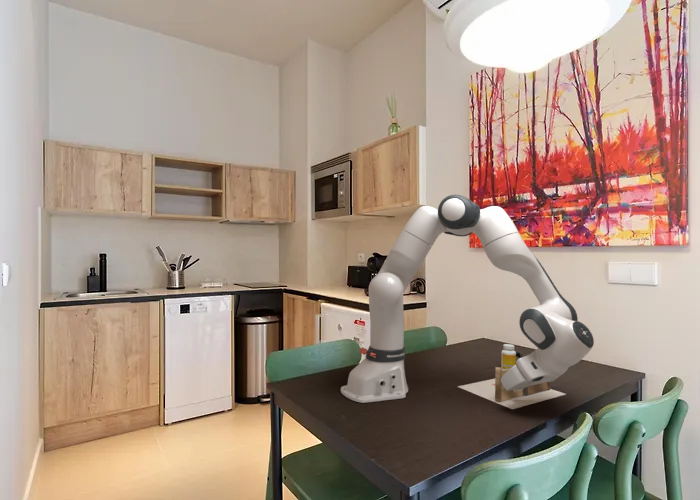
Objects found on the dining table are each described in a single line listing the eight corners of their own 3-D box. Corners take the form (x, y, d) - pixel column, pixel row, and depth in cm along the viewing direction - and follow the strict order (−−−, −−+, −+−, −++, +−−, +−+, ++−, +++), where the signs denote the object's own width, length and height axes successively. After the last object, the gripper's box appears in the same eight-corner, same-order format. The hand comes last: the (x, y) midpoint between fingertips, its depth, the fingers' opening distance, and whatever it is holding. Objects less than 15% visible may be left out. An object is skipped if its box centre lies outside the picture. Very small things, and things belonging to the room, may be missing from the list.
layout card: (512, 410, 117) (512, 409, 117) (457, 387, 136) (457, 386, 136) (566, 395, 130) (566, 394, 130) (509, 376, 149) (509, 375, 149)
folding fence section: (498, 402, 122) (498, 368, 122) (493, 400, 123) (494, 367, 123) (523, 395, 127) (523, 363, 127) (518, 393, 129) (518, 362, 129)
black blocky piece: (534, 363, 169) (534, 352, 169) (529, 366, 164) (529, 355, 164) (504, 358, 177) (504, 347, 177) (498, 361, 171) (498, 350, 172)
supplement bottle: (499, 367, 160) (499, 343, 160) (512, 367, 161) (512, 343, 161) (504, 371, 155) (504, 346, 155) (518, 371, 155) (518, 346, 155)
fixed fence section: (524, 396, 128) (524, 364, 128) (519, 394, 129) (519, 363, 129) (551, 389, 134) (551, 359, 134) (546, 387, 136) (546, 358, 136)
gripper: (561, 351, 121) (532, 374, 130) (514, 359, 112) (486, 384, 120) (575, 369, 117) (544, 392, 126) (528, 380, 108) (498, 404, 116)
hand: (516, 388), depth 123 cm, fingers closed
